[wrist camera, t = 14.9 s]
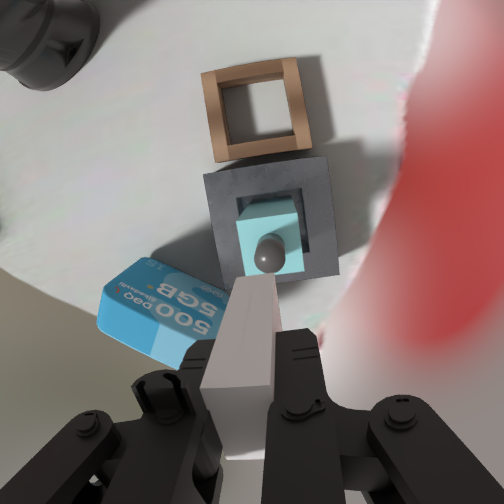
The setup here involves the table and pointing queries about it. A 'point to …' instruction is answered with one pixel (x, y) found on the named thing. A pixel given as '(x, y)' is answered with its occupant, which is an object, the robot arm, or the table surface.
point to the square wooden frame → (248, 75)
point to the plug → (270, 237)
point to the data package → (160, 310)
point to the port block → (272, 186)
